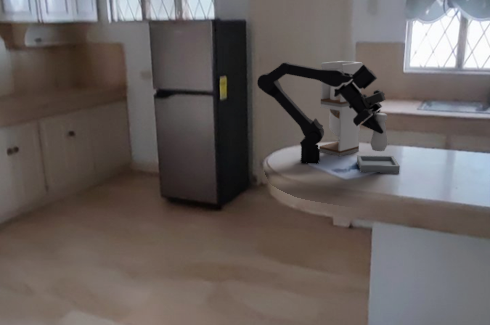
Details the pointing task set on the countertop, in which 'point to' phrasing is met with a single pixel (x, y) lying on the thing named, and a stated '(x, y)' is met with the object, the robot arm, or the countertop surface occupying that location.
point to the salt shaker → (379, 139)
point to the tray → (378, 164)
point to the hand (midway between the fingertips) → (383, 132)
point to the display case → (340, 113)
